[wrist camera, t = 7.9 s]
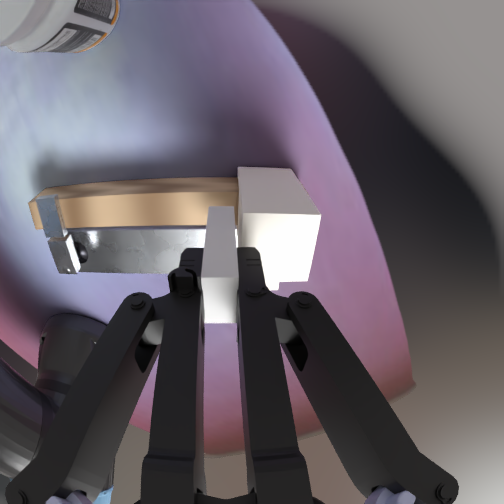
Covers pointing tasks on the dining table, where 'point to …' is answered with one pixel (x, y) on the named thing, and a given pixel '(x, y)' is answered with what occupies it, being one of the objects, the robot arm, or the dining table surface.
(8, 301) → the dining table surface
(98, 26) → the pill bottle
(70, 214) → the beam
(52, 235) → the fixed leg
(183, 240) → the hole plate
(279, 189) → the block
